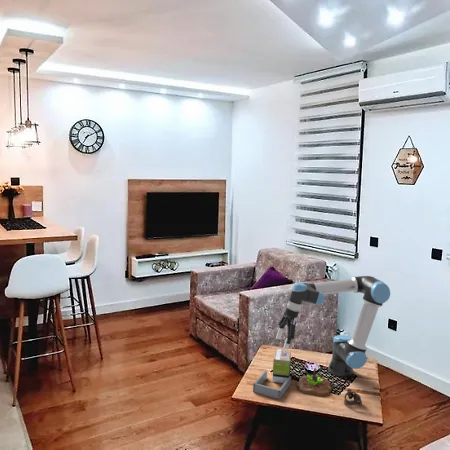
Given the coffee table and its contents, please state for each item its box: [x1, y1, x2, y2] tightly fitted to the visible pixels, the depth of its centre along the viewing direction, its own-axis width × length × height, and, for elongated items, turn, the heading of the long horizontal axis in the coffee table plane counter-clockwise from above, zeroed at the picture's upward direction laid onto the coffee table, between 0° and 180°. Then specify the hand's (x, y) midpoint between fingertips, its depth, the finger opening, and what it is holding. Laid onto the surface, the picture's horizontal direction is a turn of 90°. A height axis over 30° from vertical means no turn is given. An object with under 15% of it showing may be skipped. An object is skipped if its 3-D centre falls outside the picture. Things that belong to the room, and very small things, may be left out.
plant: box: [296, 367, 332, 397], centre depth 269 cm, size 20×20×11 cm
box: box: [252, 369, 292, 400], centre depth 266 cm, size 16×19×5 cm
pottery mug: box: [343, 388, 363, 407], centre depth 254 cm, size 12×10×8 cm
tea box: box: [272, 348, 292, 384], centre depth 279 cm, size 15×10×15 cm, turn 170°
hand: (281, 343), depth 265 cm, fingers open, 13 cm apart
